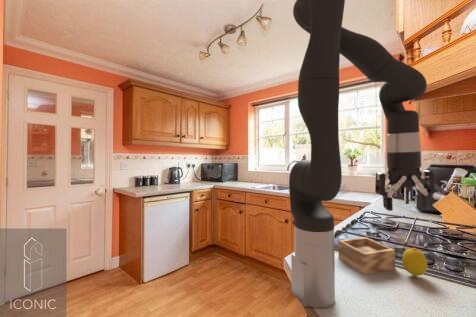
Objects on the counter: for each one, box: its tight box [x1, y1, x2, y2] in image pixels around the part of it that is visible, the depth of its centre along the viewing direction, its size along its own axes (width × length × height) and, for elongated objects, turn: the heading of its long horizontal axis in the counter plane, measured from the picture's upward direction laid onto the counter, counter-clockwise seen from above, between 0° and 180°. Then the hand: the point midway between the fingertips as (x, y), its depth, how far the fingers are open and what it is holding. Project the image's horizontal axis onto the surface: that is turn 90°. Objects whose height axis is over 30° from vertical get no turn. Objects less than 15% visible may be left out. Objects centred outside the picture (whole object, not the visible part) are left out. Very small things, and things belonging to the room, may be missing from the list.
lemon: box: [401, 247, 428, 278], centre depth 64 cm, size 6×6×8 cm
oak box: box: [337, 236, 396, 275], centre depth 72 cm, size 11×11×6 cm
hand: (404, 209), depth 62 cm, fingers open, 8 cm apart
